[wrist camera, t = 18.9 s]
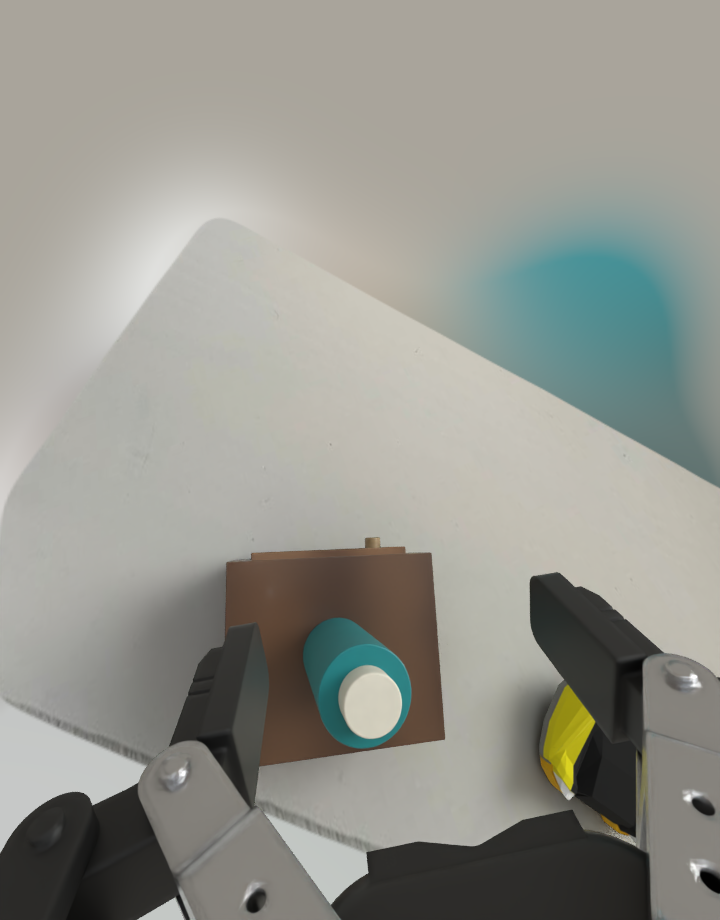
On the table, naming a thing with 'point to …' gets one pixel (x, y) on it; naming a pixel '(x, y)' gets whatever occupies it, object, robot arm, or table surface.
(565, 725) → the multicoloured piece
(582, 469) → the table surface
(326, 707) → the water bottle
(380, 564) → the storage box
